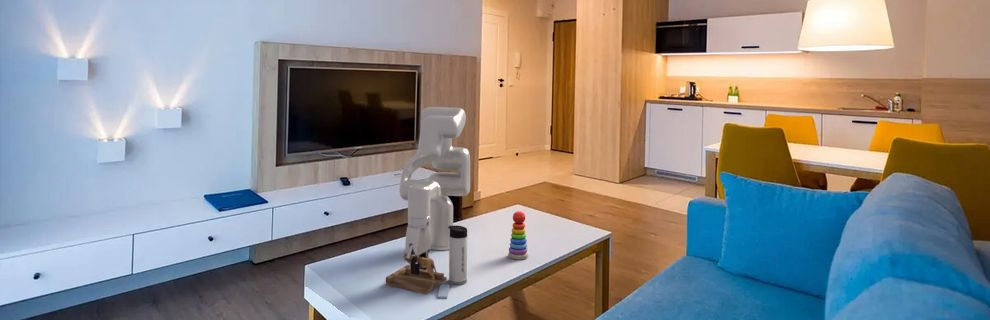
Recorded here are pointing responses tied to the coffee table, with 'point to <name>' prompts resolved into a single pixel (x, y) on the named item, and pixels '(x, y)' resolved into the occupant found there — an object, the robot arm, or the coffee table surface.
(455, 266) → the travel mug
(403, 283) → the cradle jig
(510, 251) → the stacking toy
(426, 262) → the lion figurine
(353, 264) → the coffee table surface
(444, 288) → the plank
